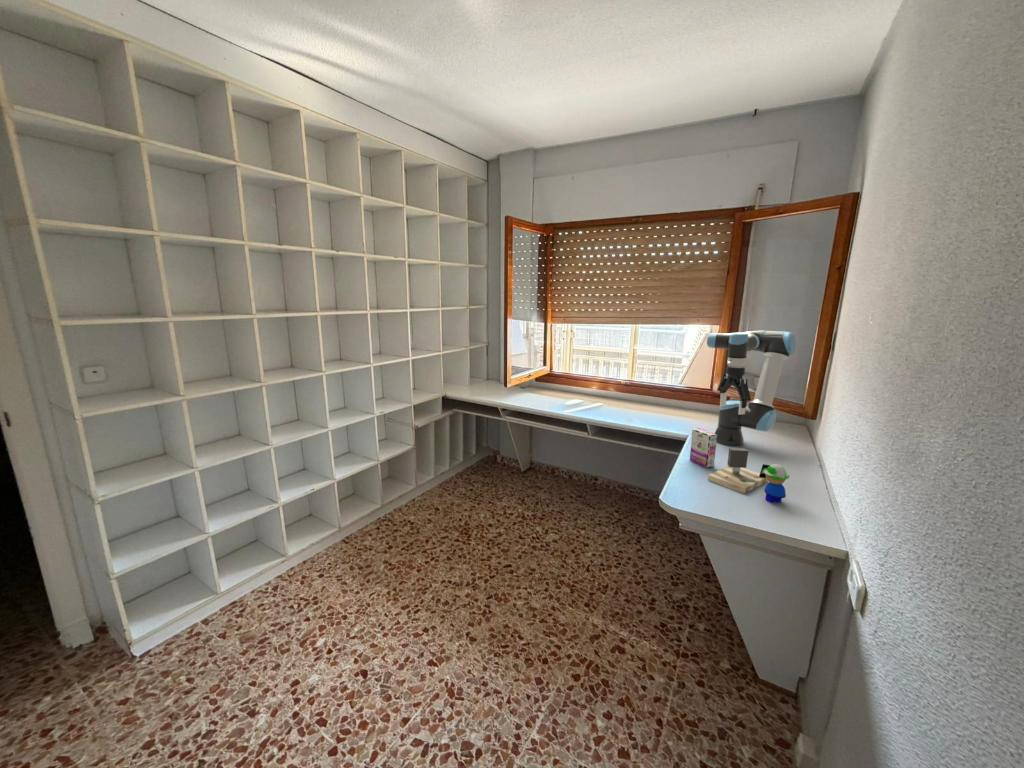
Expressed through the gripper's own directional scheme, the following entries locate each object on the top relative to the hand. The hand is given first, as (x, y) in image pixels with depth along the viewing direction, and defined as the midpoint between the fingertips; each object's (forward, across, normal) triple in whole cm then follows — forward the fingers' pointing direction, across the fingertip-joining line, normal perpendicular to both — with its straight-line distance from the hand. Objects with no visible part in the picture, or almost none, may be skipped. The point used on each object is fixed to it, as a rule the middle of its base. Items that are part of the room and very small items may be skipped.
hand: (731, 410), depth 196 cm
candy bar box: (+27, -1, -13) cm, 30 cm away
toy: (+26, +37, -6) cm, 46 cm away
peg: (+24, +20, -8) cm, 32 cm away
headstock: (+26, +19, -8) cm, 34 cm away
